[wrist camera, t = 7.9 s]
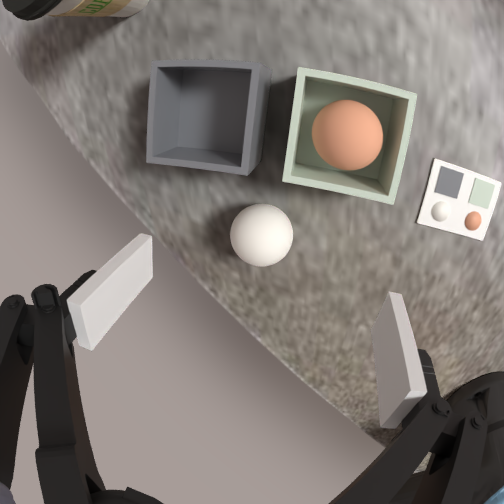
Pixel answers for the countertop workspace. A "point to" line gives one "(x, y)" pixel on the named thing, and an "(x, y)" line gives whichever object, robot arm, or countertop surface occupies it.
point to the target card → (458, 200)
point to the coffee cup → (73, 8)
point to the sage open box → (385, 108)
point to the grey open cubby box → (207, 114)
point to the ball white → (261, 234)
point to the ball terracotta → (347, 135)
